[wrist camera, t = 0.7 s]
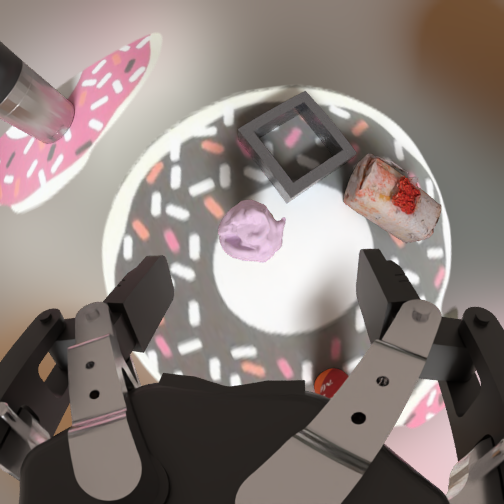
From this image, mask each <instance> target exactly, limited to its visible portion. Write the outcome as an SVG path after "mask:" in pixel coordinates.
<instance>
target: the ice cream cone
mask: <svg viewBox="0 0 504 504" xmlns="http://www.w3.org/2000/svg"><path fill="white" fill-rule="evenodd" d="M285 221H286V219H285V217H284V218H282V219H281V220H280V221H276V220H275V219H274V217H273V215H272V214H271V213H270V212H269V211H268V209H267V207H266V206H265V205H264V204H261V203H258V202H256V201H254V200H244V201H241V202H239V203H238V204H237V205H236V206H234V207H233V208H231V209H230V210H229V211H228V212H227V213H226V215H225V216H224V217H223V219H222V220H221V222H220V225H219V228H218V234H219V235H220V236H219V239H220V244H221V246H222V248H223V250H224V251H225V252H226V253H227V254H228V255H230V256H231V257H233V258H237V259H241V260H244V261H258V262H266V261H267V260H269V259H270V258H271V257H272V256H273V255H274V253H275V252H276V251H278V250H279V249H280V248H281V246H282V236H283V229H284V225H285Z"/></svg>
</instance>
